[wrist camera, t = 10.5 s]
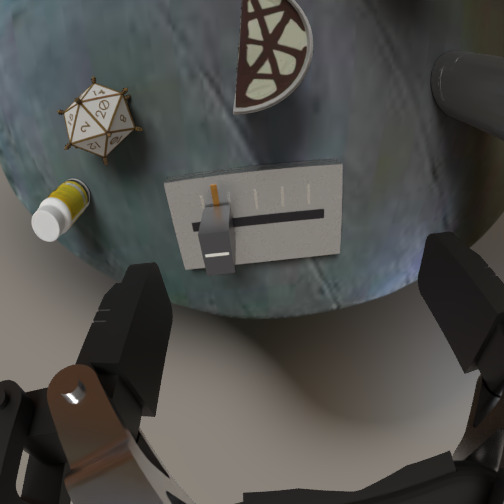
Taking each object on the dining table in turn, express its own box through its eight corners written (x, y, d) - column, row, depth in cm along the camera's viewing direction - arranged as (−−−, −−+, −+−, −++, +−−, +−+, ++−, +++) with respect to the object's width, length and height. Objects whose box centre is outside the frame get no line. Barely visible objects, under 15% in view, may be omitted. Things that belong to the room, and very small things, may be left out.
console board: (337, 158, 36) (342, 164, 34) (336, 245, 42) (340, 253, 40) (167, 177, 36) (163, 183, 34) (187, 260, 43) (185, 270, 41)
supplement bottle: (65, 172, 35) (32, 200, 28) (95, 186, 36) (66, 218, 29) (57, 202, 37) (26, 234, 30) (85, 216, 38) (58, 251, 31)
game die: (114, 96, 33) (76, 53, 24) (166, 117, 33) (135, 69, 23) (75, 157, 33) (25, 127, 23) (124, 185, 33) (76, 156, 23)
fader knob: (230, 204, 36) (228, 231, 31) (235, 242, 39) (235, 273, 34) (203, 207, 36) (197, 235, 31) (211, 245, 39) (207, 276, 34)
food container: (291, 107, 32) (310, 124, 24) (235, 103, 32) (232, 118, 23) (301, 3, 25) (324, -18, 17) (242, -3, 25) (242, -27, 17)
